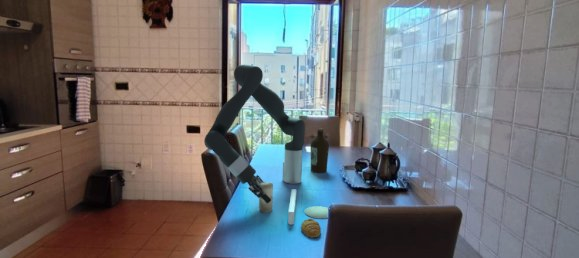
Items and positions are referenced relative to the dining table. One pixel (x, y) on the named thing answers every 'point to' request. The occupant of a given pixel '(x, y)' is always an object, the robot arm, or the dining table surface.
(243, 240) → the dining table surface
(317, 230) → the pastry
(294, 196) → the wall
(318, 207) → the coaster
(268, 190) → the dome-topped cylinder
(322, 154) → the olive oil
